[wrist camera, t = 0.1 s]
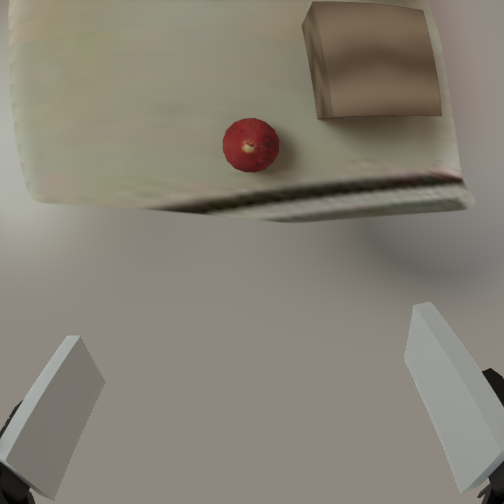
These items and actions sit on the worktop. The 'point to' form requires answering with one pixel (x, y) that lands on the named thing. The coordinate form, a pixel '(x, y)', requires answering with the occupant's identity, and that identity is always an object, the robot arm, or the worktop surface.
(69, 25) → the worktop surface
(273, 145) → the onion
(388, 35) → the walnut stand
